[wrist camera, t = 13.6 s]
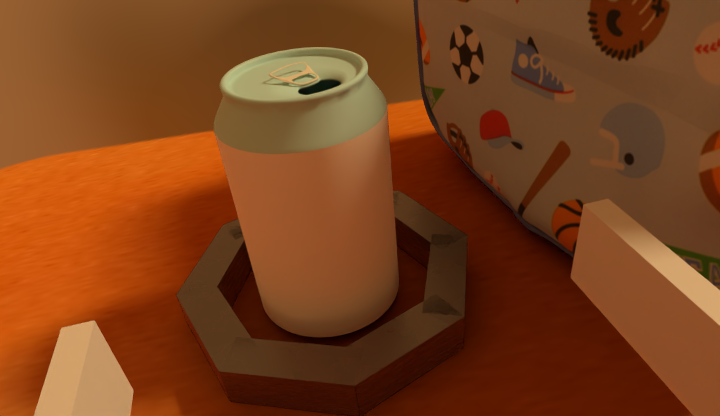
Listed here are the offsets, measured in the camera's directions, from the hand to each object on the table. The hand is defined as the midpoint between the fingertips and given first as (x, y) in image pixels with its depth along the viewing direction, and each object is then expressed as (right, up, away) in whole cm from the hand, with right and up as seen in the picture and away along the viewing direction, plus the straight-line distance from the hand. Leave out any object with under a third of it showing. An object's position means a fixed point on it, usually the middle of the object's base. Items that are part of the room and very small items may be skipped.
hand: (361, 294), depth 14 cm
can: (-2, -2, +13) cm, 13 cm away
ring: (-2, -2, +13) cm, 13 cm away
